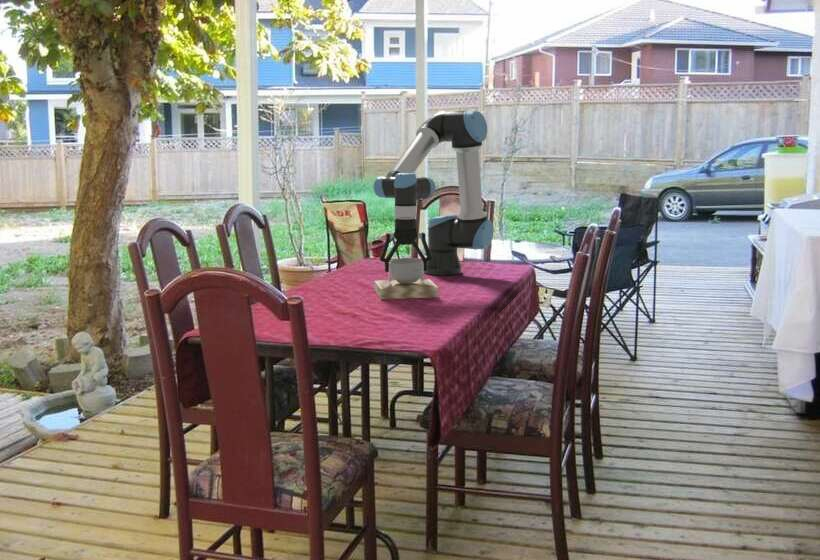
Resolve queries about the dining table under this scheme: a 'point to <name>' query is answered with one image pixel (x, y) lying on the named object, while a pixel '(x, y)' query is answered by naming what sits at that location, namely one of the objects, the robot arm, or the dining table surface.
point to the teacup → (406, 269)
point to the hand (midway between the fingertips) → (405, 280)
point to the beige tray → (406, 289)
